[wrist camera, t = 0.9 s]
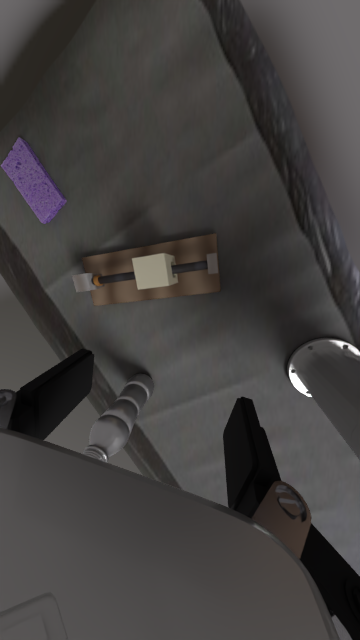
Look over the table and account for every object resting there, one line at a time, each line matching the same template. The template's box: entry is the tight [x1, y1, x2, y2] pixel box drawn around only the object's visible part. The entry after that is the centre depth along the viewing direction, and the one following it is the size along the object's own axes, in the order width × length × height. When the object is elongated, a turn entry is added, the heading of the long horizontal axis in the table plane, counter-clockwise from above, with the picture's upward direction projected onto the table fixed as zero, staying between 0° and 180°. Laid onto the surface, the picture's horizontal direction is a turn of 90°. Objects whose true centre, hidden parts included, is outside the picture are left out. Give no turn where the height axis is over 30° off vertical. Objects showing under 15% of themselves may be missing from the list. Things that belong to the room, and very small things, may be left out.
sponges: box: [1, 137, 67, 224], centre depth 35 cm, size 7×13×2 cm, turn 34°
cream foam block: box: [132, 253, 178, 290], centre depth 30 cm, size 5×5×7 cm
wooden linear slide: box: [72, 233, 221, 306], centre depth 33 cm, size 27×10×6 cm, turn 98°
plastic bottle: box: [83, 374, 154, 463], centre depth 34 cm, size 6×7×20 cm
